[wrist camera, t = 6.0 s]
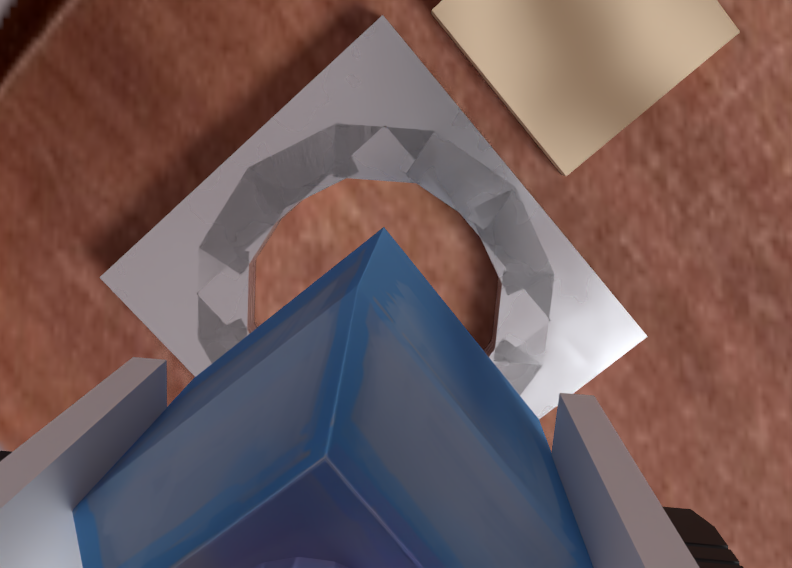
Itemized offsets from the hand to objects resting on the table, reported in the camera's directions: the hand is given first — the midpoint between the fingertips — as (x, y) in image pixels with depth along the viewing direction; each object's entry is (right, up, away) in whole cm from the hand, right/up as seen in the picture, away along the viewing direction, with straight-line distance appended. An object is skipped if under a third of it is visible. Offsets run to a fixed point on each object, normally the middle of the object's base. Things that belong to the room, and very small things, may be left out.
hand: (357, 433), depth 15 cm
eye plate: (0, +3, +13) cm, 13 cm away
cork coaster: (+8, +13, +11) cm, 19 cm away
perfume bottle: (0, 0, +2) cm, 2 cm away
